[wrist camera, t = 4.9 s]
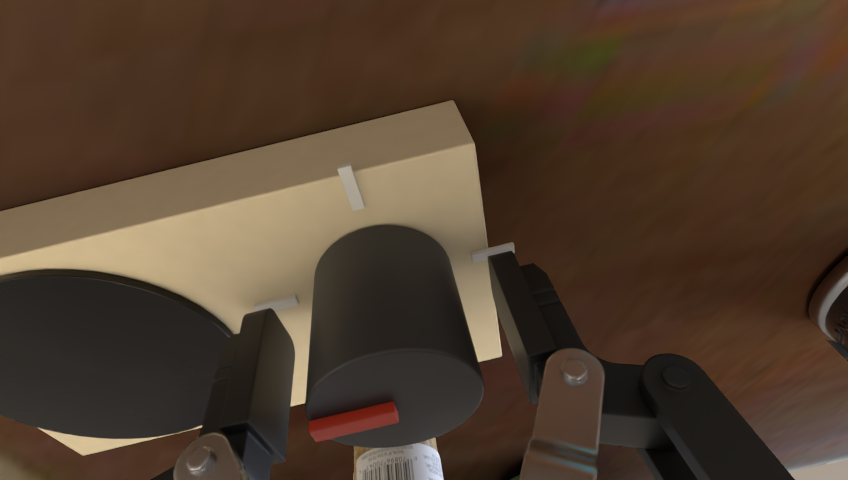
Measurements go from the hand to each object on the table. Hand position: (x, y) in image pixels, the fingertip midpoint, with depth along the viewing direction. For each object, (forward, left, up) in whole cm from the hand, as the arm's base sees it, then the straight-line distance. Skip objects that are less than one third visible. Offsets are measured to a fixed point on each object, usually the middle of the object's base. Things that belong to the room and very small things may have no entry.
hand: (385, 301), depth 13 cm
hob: (+5, +1, -4) cm, 7 cm away
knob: (0, 0, -1) cm, 1 cm away
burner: (+10, +1, -1) cm, 10 cm away
